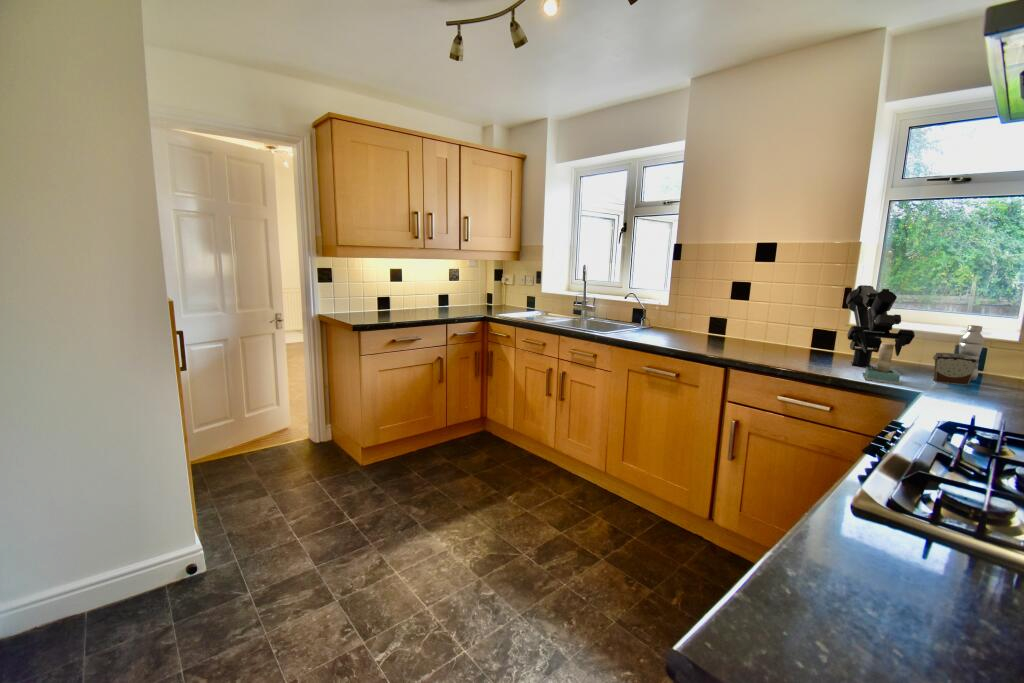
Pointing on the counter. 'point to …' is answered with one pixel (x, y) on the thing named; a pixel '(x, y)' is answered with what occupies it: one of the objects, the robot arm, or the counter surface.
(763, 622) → the counter surface
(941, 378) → the food container
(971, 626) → the counter surface
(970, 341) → the plastic bottle
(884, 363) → the dowel
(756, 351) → the counter surface
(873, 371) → the collar plate
